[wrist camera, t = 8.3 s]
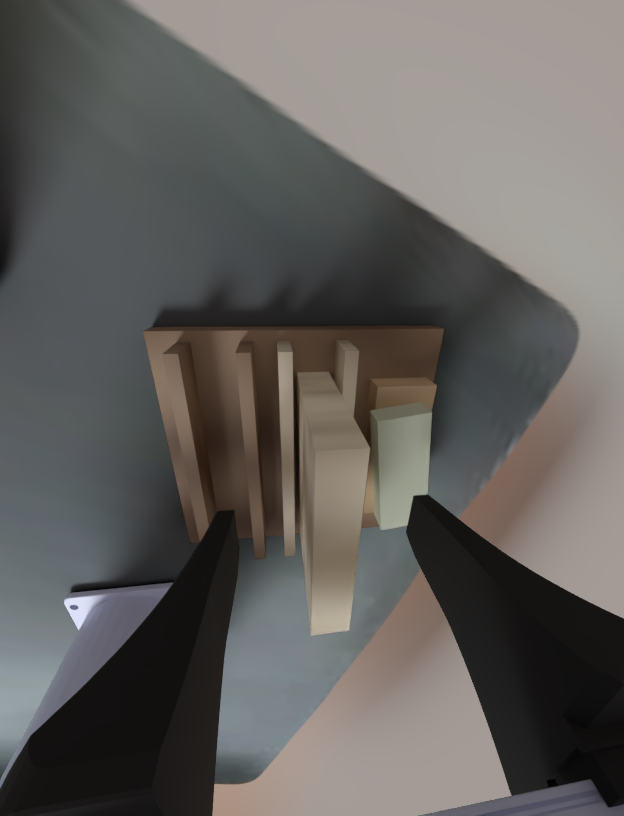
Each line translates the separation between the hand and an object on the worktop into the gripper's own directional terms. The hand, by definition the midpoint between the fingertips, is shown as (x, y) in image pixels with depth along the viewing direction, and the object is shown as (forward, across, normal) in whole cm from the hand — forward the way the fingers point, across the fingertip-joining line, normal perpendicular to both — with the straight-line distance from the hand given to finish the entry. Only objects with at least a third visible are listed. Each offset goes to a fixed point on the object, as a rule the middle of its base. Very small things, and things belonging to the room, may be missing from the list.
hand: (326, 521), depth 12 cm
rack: (+6, 0, 0) cm, 6 cm away
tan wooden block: (+5, 0, 0) cm, 5 cm away
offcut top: (+4, -5, 0) cm, 6 cm away
